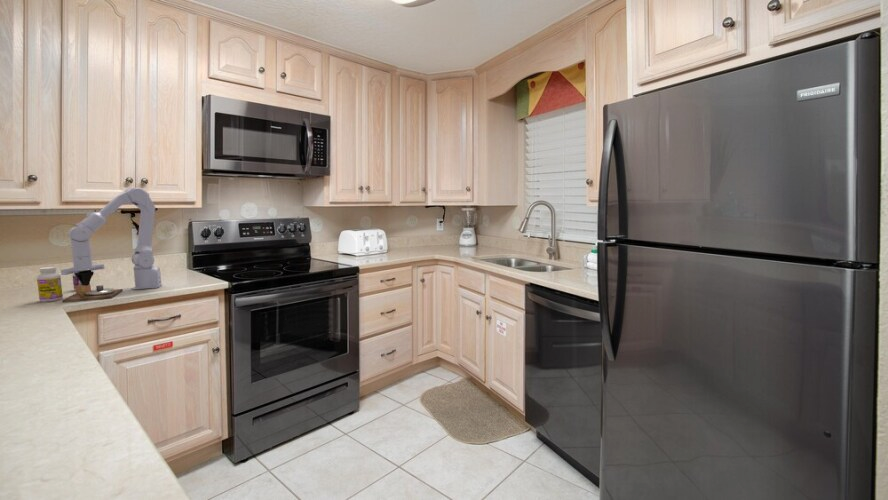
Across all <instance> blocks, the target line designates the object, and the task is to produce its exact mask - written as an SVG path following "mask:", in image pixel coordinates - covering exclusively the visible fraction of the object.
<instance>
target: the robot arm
mask: <svg viewBox="0 0 888 500" xmlns="http://www.w3.org/2000/svg"><path fill="white" fill-rule="evenodd" d="M126 204H127V205H128V204H133V205H134V206H136V207H137V208H138V209H139V210H140V216H139V224H138V226H139V227H138V233H137V242H136V244H137V245H136V247H135V249H134V254H132V255H131V262H132V264H133V265H134V266H132V267H133V276H134V278H133V279H134V287H132V288H131V289H132V290H143V289H157V288H160V287H161V286H162V275H161V273H162V272H161V269H160V267H159V266H157V267H155V266H154V263H155V258H154V254H153V248H152V242H153V233H154V232H153V231H154V222H155V213H156V206H155V204H154V202H153V201H152V198H151V197H150V193H148V191H146V190H145V189H144V188H142V187H137V186H136V187H128V188H126V189H125V190H124V191H122V192H120V193H118V194H117V195H116V196H115V197H113V198H112V199H111V200H110V201H109V202H108V203H107V204H106V205H105V206H103V207H102V208H101V209H100V210H99V211H98V212H91V213H86V215H85V216H86V217H85V218H84V219H82V220H81V221H80V222H77V223H76V224H75V225H76V226H74V227H72V228H70V229H69V231H68V234H67V236H68V238H69V239H70V245H71V246H70V247H71V255H72V265H73V267H70V268H66V269H61V270H60V273H61V274H60V276H67V275H71V274H72V275H73V274H74V273H75V276H76V277H77V278H78V279H79V280H80V282H81V283H82V285H89V283H90V282H91V279H92V278H93V276H94V274H95V272H94V271H98V270H99V271H100V270H104V269H105V264H100V263H99V264H93V258H92V252H91V251H92V250H91V243H90V238H91V236H92V234H94V233H95V232H96V231H98V230H99V229H100V228H101V227H102V226H103V225H104V224H106V222H107V219H106V218H107V217H108V216H110V215H111V214H113V212H115V211H117V210H118V209H119V208H121V206H122V205H126ZM80 270H83V271H80ZM76 271H77V272H76ZM90 284H91V283H90Z"/></svg>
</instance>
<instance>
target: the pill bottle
mask: <svg viewBox="0 0 888 500" xmlns="http://www.w3.org/2000/svg"><path fill="white" fill-rule="evenodd" d="M80 271H83V270H80ZM76 272H77V271H76ZM72 285H73V290H74V291H75V292H76V286H78V285H82V283H81V282H80V280H79V279H78V278H77V277H76V276H75V273H73V274H72ZM89 285H90V286H91V283H89Z"/></svg>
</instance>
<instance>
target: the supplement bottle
mask: <svg viewBox="0 0 888 500" xmlns="http://www.w3.org/2000/svg"><path fill="white" fill-rule="evenodd" d="M39 273H40V274H39V275H37V276H36V282H37V291H38V292H37V293H38V300H39V302H42V303H46V302H47V303H49V302H56V301H60V300H61V301H62V300H63V296H64V295H63V288H62V275H61V274H59V273H57V267H56V266H47V267H40V268H39Z"/></svg>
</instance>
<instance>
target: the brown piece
mask: <svg viewBox="0 0 888 500" xmlns="http://www.w3.org/2000/svg"><path fill="white" fill-rule="evenodd" d="M113 289H114V291H115V292H113V293H110V294H104V295H94V296H88V295H86V294H85V292H84V286H79V290H80V294H77V292H75V293H73V294H71V295H70V296H68V297H66V298H64V299H63V298H62V299H61V301H62V303H72V302H74V303H75V302H85V301H96V300H97V301H98V300H108V299H110V300H111V299H113V298H114V297H116V296H118V295H119V294H120V293H122V292H124V291H123V290H124V289H123V288H113Z"/></svg>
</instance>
